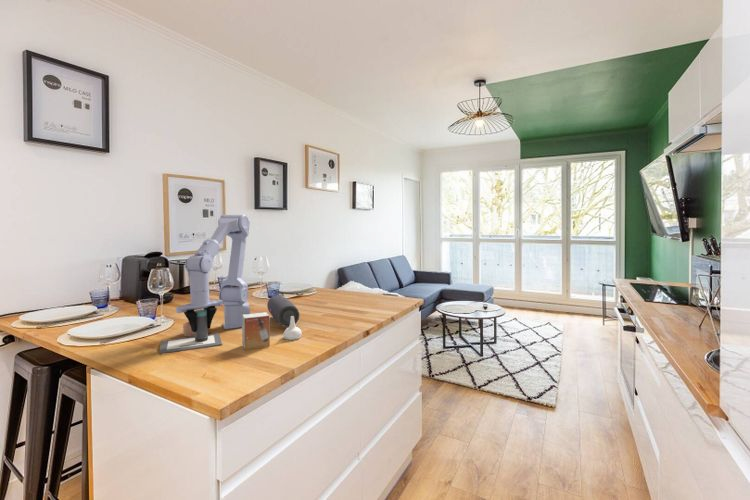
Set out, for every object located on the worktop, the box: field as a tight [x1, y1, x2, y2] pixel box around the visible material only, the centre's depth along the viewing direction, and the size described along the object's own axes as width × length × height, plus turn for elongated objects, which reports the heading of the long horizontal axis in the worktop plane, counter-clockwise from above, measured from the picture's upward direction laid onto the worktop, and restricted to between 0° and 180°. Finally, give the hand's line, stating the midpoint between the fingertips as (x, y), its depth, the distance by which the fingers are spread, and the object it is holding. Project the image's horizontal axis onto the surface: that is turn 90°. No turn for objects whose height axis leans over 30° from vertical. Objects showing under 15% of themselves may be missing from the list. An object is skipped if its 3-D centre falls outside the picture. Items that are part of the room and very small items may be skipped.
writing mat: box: [158, 332, 223, 355], centre depth 117 cm, size 18×13×1 cm
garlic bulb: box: [283, 316, 303, 341], centre depth 123 cm, size 6×6×8 cm
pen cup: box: [182, 321, 195, 337], centre depth 128 cm, size 7×7×4 cm
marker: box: [194, 309, 209, 342], centre depth 119 cm, size 4×4×10 cm
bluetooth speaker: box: [266, 294, 300, 328], centre depth 142 cm, size 23×9×10 cm, turn 27°
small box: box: [241, 311, 271, 351], centre depth 115 cm, size 8×6×10 cm
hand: (201, 329), depth 119 cm, fingers closed on marker, 4 cm apart
